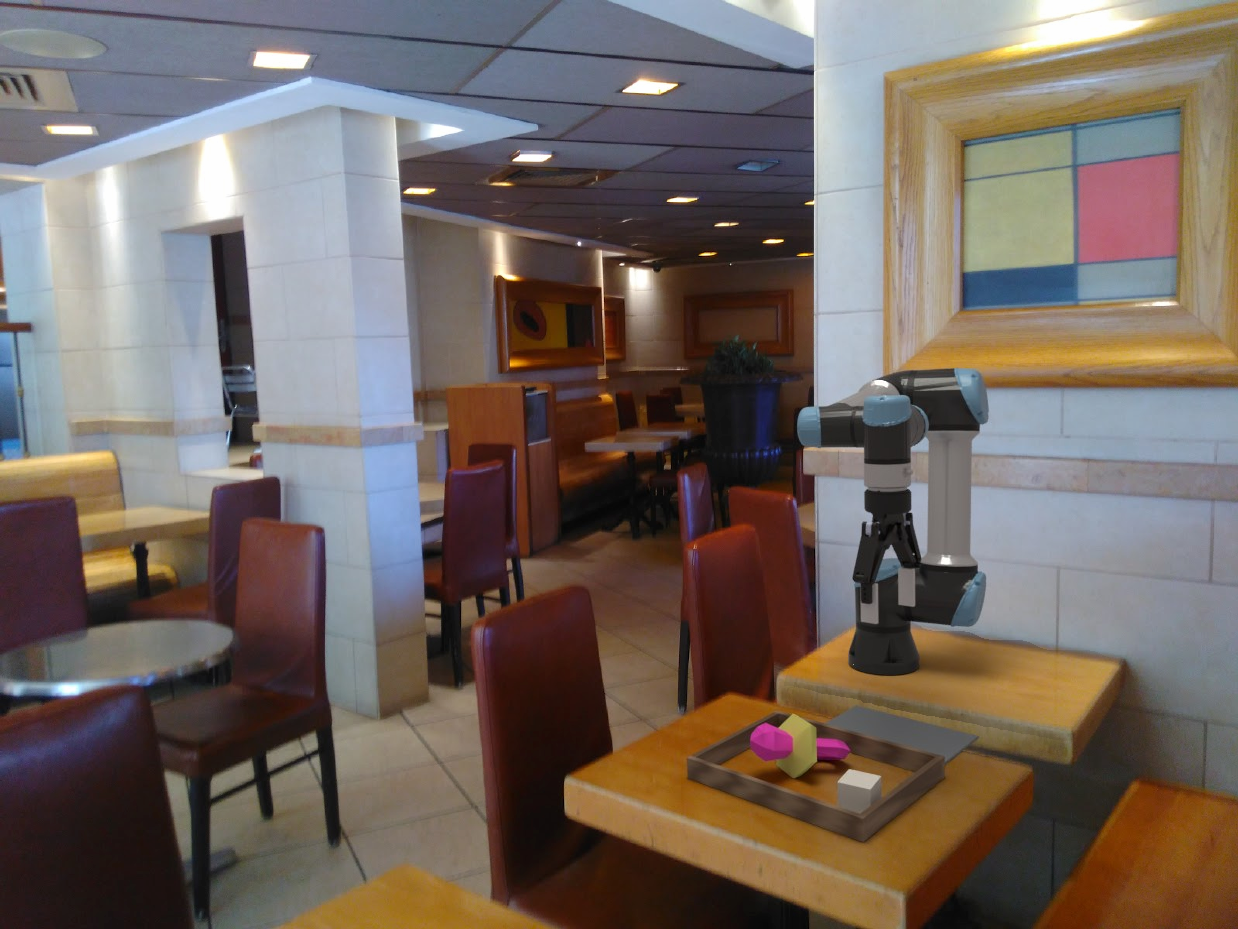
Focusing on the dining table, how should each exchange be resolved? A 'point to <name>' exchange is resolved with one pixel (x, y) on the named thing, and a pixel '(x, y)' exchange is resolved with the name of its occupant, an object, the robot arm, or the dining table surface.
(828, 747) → the toy
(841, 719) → the mat
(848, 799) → the cream block
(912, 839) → the dining table surface
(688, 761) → the brown wooden frame
